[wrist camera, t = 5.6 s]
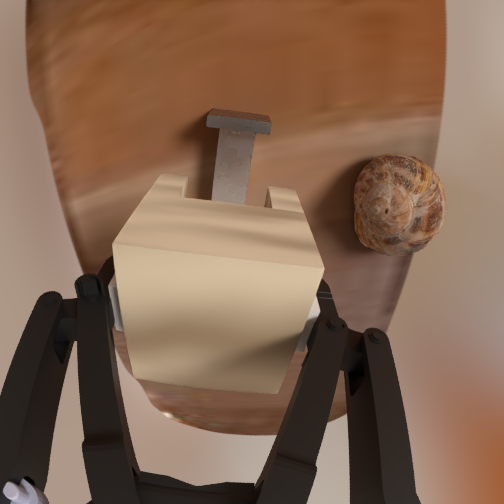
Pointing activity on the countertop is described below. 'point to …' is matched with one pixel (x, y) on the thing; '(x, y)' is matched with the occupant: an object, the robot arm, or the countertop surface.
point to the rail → (234, 151)
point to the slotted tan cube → (215, 287)
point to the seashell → (398, 205)
